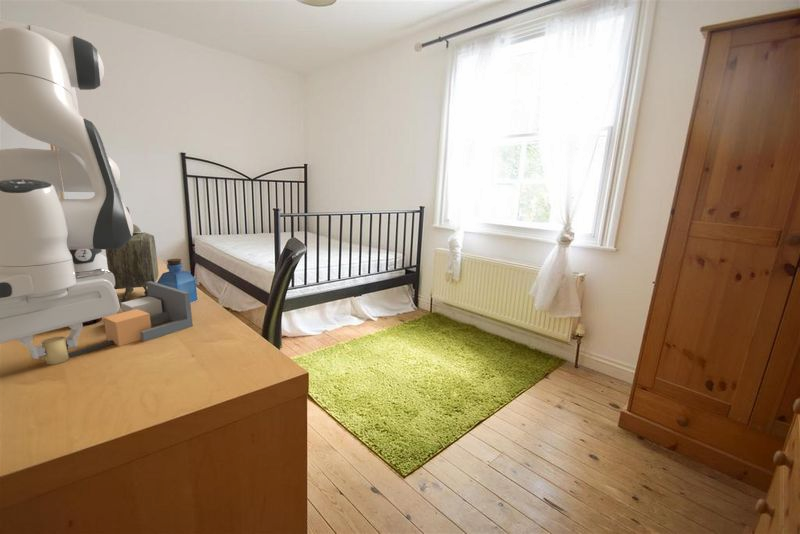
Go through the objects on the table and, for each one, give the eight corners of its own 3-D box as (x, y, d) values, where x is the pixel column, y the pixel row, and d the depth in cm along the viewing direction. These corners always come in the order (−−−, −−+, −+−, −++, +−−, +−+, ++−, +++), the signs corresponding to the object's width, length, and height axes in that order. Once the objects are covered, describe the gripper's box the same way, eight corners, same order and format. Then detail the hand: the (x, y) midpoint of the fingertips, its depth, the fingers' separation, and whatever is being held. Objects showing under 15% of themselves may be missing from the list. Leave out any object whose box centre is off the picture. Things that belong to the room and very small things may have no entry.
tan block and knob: (40, 360, 63) (35, 334, 62) (139, 330, 77) (136, 308, 76) (52, 367, 61) (46, 341, 60) (152, 335, 75) (149, 313, 74)
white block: (123, 323, 81) (120, 302, 80) (152, 315, 86) (149, 296, 85) (134, 328, 78) (131, 307, 77) (163, 320, 83) (161, 300, 82)
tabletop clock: (124, 291, 103) (111, 204, 97) (161, 288, 107) (150, 205, 101) (113, 306, 90) (98, 208, 85) (156, 302, 95) (144, 208, 89)
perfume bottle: (179, 308, 91) (174, 263, 89) (159, 305, 92) (153, 261, 90) (197, 300, 97) (193, 258, 94) (178, 298, 98) (173, 256, 96)
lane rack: (106, 324, 79) (101, 290, 78) (154, 311, 88) (150, 281, 86) (144, 341, 72) (139, 304, 70) (192, 325, 80) (189, 292, 79)
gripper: (104, 264, 70) (115, 328, 73) (-60, 288, 53) (-37, 371, 56) (120, 268, 67) (130, 335, 70) (-48, 295, 50) (-24, 383, 53)
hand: (55, 352), depth 63 cm, fingers open, 3 cm apart
